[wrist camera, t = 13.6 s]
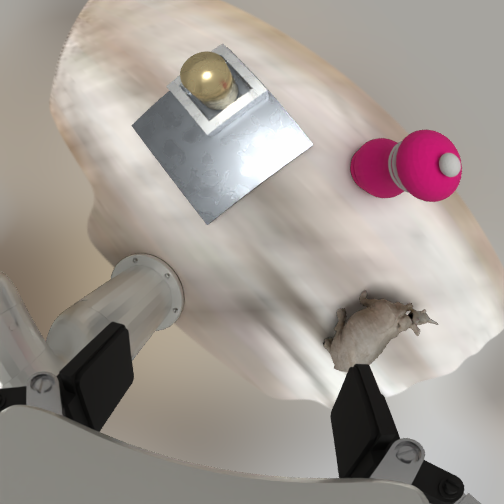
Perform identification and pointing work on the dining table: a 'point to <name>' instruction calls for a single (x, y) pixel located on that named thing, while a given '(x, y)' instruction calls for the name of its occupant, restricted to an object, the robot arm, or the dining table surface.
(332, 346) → the rhinoceros figurine
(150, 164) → the dining table surface
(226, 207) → the plate
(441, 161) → the pepper mill
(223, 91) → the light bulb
